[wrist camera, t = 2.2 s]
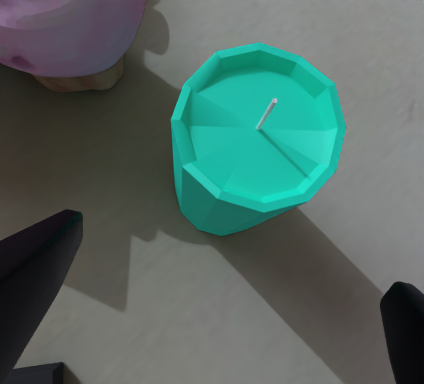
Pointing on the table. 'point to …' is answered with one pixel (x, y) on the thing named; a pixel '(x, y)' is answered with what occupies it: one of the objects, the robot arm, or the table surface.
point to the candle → (253, 137)
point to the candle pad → (37, 374)
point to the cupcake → (69, 40)
